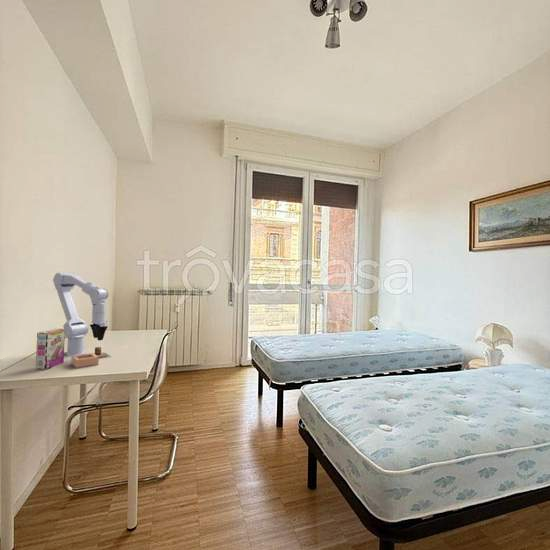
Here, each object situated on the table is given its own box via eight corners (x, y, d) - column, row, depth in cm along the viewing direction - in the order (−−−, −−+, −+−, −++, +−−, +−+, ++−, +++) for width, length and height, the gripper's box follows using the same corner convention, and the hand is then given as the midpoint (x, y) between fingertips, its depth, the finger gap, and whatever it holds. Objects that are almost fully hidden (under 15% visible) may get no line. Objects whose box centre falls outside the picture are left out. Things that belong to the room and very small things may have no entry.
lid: (86, 356, 154) (87, 347, 154) (104, 353, 160) (104, 345, 160) (90, 359, 148) (91, 350, 148) (108, 356, 154) (109, 347, 154)
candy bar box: (46, 370, 132) (47, 332, 132) (35, 369, 132) (36, 332, 132) (64, 362, 143) (65, 328, 143) (54, 362, 144) (55, 328, 144)
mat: (84, 356, 154) (84, 356, 154) (105, 353, 161) (105, 352, 161) (89, 361, 147) (89, 360, 147) (111, 357, 154) (111, 356, 154)
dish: (71, 364, 141) (71, 356, 141) (93, 361, 147) (93, 353, 147) (75, 369, 134) (75, 360, 134) (98, 365, 140) (98, 356, 140)
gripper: (111, 313, 152) (111, 340, 152) (103, 310, 162) (102, 335, 162) (95, 314, 147) (95, 342, 147) (88, 311, 157) (87, 337, 157)
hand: (98, 338), depth 154 cm, fingers open, 7 cm apart
